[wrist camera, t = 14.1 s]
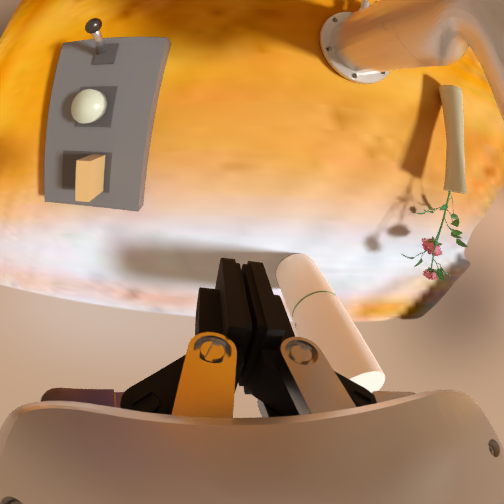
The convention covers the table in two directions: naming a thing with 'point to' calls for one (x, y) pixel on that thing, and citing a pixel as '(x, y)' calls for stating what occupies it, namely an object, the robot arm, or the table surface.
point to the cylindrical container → (326, 321)
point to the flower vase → (449, 169)
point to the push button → (89, 106)
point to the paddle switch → (89, 177)
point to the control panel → (105, 118)
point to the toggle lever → (96, 33)
